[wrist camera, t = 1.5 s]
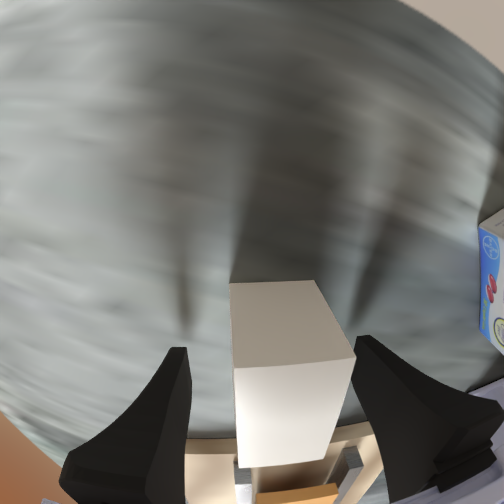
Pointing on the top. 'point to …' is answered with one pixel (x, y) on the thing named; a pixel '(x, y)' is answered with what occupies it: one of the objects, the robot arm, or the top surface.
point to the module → (285, 371)
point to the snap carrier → (301, 495)
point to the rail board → (282, 469)
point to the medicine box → (492, 279)
